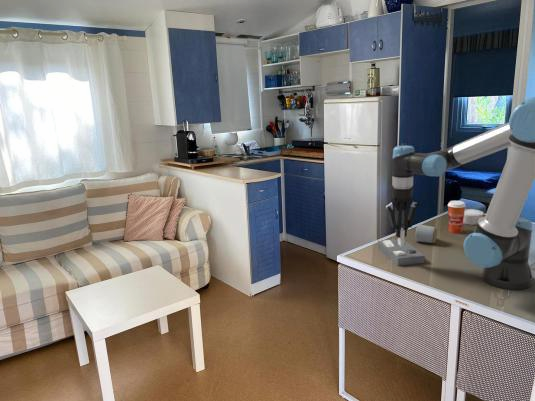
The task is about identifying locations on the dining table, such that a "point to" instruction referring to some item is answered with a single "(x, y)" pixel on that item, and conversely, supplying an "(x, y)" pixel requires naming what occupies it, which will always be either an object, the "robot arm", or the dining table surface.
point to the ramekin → (472, 216)
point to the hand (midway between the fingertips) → (400, 244)
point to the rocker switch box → (409, 258)
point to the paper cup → (456, 216)
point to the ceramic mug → (425, 234)
